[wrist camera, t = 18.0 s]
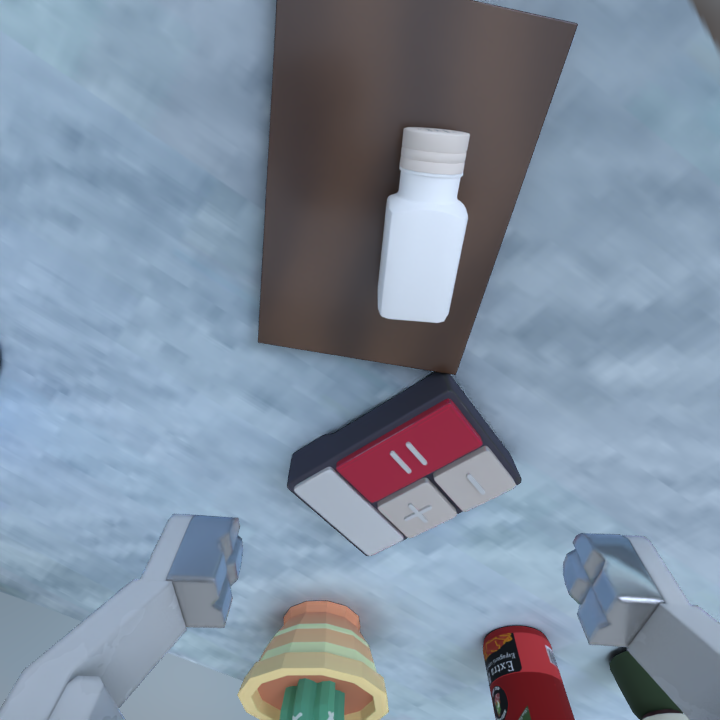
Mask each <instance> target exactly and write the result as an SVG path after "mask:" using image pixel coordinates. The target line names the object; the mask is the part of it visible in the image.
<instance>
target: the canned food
mask: <svg viewBox="0 0 720 720" xmlns="http://www.w3.org/2000/svg"><path fill="white" fill-rule="evenodd" d="M483 654H484V659H485V665H486V670H487V675H488V681H489V686H490V691H491V697H492V702H493V707H494V713H495V718H496V720H575V719H574V716H573V713H572V710H571V707H570V704H569V701H568V697H567V694H566V691H565V688H564V685H563V682H562V679H561V676H560V673H559V669H558V666H557V663H556V660H555V657H554V654H553V651H552V648H551V645H550V643H549V641H548V640H547V638H546V636H545V635H544V634H543V633H542V632H540V631H539V630H537V629H534V628H531V627H526V626H507V627H503V628H499V629H496V630H494V631H492V632H491V633H489V634H488V635H487V636H486V637H485V639H484V643H483Z"/></svg>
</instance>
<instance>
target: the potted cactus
mask: <svg viewBox="0 0 720 720" xmlns="http://www.w3.org/2000/svg"><path fill="white" fill-rule="evenodd" d="M359 630H360V622H359V616H358V615H357V614H355V613H354V612H353V611H352V610H351V609H349V608H348V607H347V606H344V605H340V604H337V603H333V602H330V601H306V602H303V603H301V604H298V605H295V606H293V607H290V609H289V610H288V612H287V613H286V614H285V616H284V626H283V627H282V628H281V629H280V630H279V631H278V632H277V633H276V634H275V636H274V637H273V639H272V640H271V641H270V643H269V644H268V645H267V647H266V649H265V650H264V652H263V654H262V656H261V658H260V660H259V662H256V663H255V665H254V666H253V667H252V669H251V670H250V671H249V673H248V674H247V675H246V677H245V678H244V681H243V683H242V685H241V688H240V690H239V692H238V697H239V699H240V701H241V703H242V705H243V707H244V709H245V710H246V712H247V713H249V714H251V715H253V716H254V717H256V718H258V719H260V720H379V719H381V718H382V717H383V716H384V715H386V714H387V713H388V712H389V710H388V701H387V693H386V688H385V683H384V678H383V677H382V676H381V675H379V674H378V673H377V672H376V668H375V665H374V662H373V658H372V655H371V651H370V648H369V645H368V644H367V642H366V641H365V639H364V638H363V636H362V635H361V633H360V631H359Z"/></svg>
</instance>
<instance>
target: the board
mask: <svg viewBox="0 0 720 720" xmlns="http://www.w3.org/2000/svg"><path fill="white" fill-rule="evenodd" d="M577 26H578V24H577V23H573V22H568V21H564V20H559V19H555V18H550V17H546V16H541V15H537V14H532V13H528V12H523V11H518V10H514V9H509V8H505V7H500V6H496V5H491V4H487V3H482V2H478V1H473V0H277V4H276V22H275V40H274V58H273V76H272V95H271V113H270V131H269V149H268V167H267V185H266V203H265V221H264V240H263V258H262V276H261V294H260V312H259V330H258V343H264V344H270V345H276V346H282V347H289V348H295V349H301V350H307V351H313V352H319V353H325V354H331V355H338V356H344V357H350V358H356V359H362V360H368V361H374V362H380V363H387V364H393V365H399V366H405V367H411V368H417V369H423V370H429V371H435V372H442V373H448V374H454V375H456V372H457V370H458V367H459V364H460V361H461V358H462V355H463V352H464V350H465V347H466V344H467V341H468V338H469V335H470V332H471V330H472V327H473V324H474V321H475V318H476V315H477V312H478V309H479V307H480V304H481V301H482V298H483V295H484V292H485V289H486V287H487V284H488V281H489V278H490V275H491V272H492V269H493V266H494V264H495V261H496V258H497V255H498V252H499V249H500V246H501V244H502V241H503V238H504V235H505V232H506V229H507V226H508V223H509V221H510V218H511V215H512V212H513V209H514V206H515V203H516V201H517V198H518V195H519V192H520V189H521V186H522V183H523V180H524V178H525V175H526V172H527V169H528V166H529V163H530V160H531V158H532V155H533V152H534V149H535V146H536V143H537V140H538V138H539V135H540V132H541V129H542V126H543V123H544V120H545V117H546V115H547V112H548V109H549V106H550V103H551V100H552V97H553V95H554V92H555V89H556V86H557V83H558V80H559V77H560V74H561V72H562V69H563V66H564V63H565V60H566V57H567V54H568V52H569V49H570V46H571V43H572V40H573V37H574V34H575V31H576V29H577ZM406 127H422V128H435V129H445V130H453V131H460V132H465V133H469V134H470V138H469V143H468V148H467V151H466V153H467V154H466V159H465V161H464V162H465V164H464V170H463V176H462V177H461V178H460V183H459V189H458V194H457V199H458V200H459V201H461V202H462V203H463V204H464V206H465V208H466V211H467V214H468V221H467V226H466V231H465V235H464V240H463V245H462V250H461V255H460V260H459V265H458V270H457V275H456V280H455V285H454V290H453V295H452V299H451V304H450V309H449V314H448V315H447V317H446V319H445V320H444V322H440V323H432V322H420V321H408V320H396V319H387V318H384V317H382V316H381V315H380V313H379V310H378V280H379V270H380V261H381V251H382V242H383V232H384V222H385V213H386V203H387V198H388V197H389V196H390V195H392V194H396V193H397V192H398V191H399V183H400V174H401V170H400V169H399V167H400V166H399V165H400V157H401V148H402V139H403V131H404V128H406Z"/></svg>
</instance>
